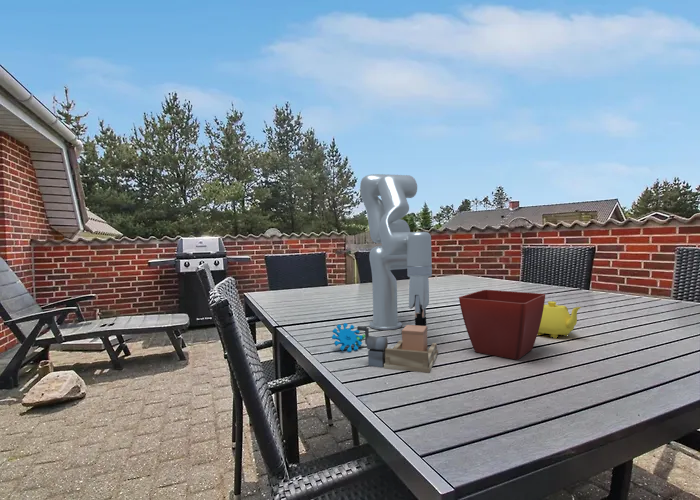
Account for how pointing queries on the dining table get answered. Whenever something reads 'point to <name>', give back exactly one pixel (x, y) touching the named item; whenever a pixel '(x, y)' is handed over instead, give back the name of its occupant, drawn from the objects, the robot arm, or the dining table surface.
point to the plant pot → (502, 321)
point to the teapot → (557, 320)
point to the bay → (397, 354)
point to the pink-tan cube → (414, 338)
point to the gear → (347, 337)
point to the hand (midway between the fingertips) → (420, 329)
